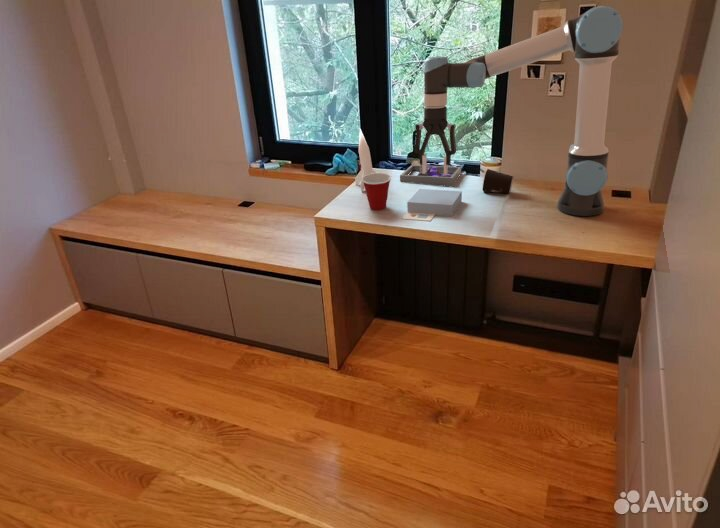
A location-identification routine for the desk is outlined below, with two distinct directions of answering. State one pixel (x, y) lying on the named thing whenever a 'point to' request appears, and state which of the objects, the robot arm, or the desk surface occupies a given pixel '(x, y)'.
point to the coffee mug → (497, 182)
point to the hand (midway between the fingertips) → (434, 173)
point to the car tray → (431, 179)
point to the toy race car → (433, 172)
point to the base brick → (435, 202)
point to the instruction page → (418, 216)
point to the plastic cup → (377, 189)
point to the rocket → (364, 161)
